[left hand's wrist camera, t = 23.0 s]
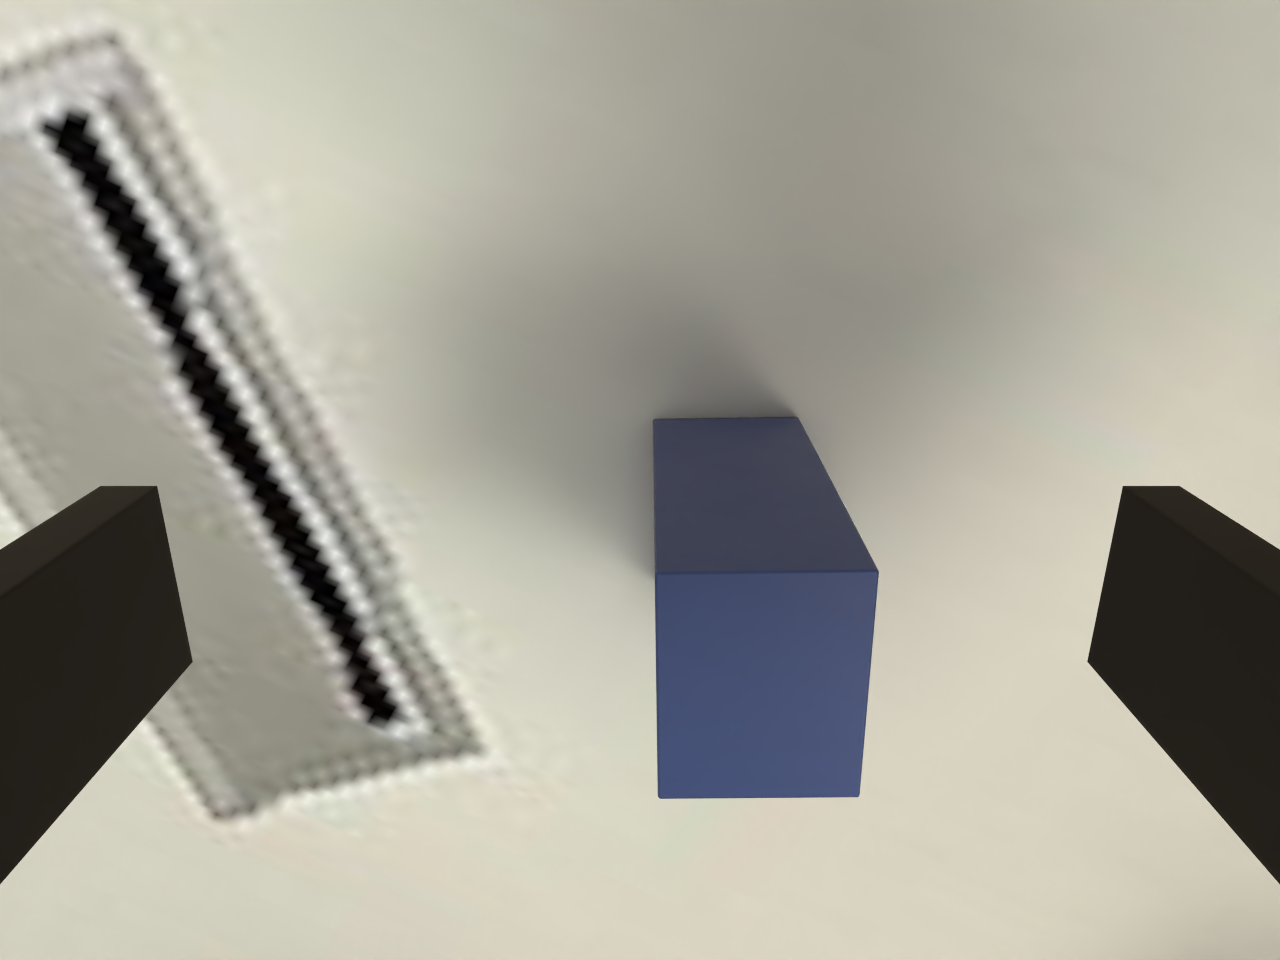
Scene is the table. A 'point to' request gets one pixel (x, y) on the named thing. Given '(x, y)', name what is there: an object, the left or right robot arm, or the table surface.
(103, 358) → the table surface
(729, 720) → the brick
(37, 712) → the left robot arm
